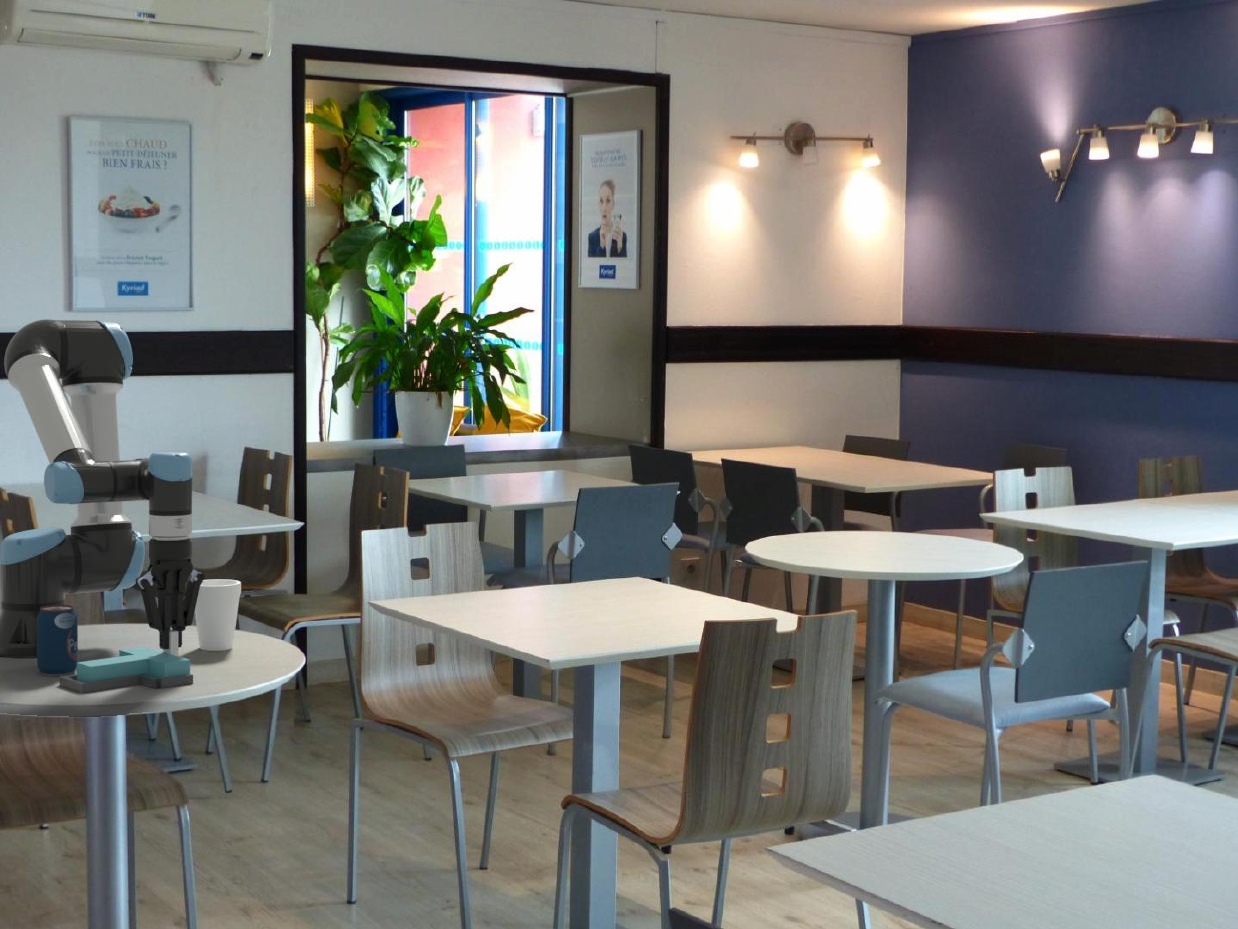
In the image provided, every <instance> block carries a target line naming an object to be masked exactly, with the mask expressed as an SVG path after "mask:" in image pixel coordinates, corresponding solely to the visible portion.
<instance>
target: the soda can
mask: <svg viewBox="0 0 1238 929" xmlns="http://www.w3.org/2000/svg"><path fill="white" fill-rule="evenodd" d="M40 610H41V611H40V613H39V615H38V617H37V657H36V658H37V659H36V663H37V664H36V667H37V670H38V671H39V672H40V674H41V675H43V676H49V677H60V676H67V675H73V674H74V673H75V671H76V670H77V662H79V647H78V646H79V640H78V638H79V636H78V635H79V634H78V632H79V630H78V629H79V628H78V625H79V624H78V614H77V612H76V611H75V606H73V605H71V604H65V605H49V606H44V607H41V608H40Z"/></svg>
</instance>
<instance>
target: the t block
mask: <svg viewBox="0 0 1238 929" xmlns="http://www.w3.org/2000/svg"><path fill="white" fill-rule="evenodd" d="M76 674H77V680H79V681H82V682H91V681H98V680H105V679H111V678H118V677H125V676H131V675H138V674H145V675H149V676H152V677H155V678H158V679H160V678H167V677H174V676H180V675H187V674H191V659H189V658H185V657H182V656H179V655H178V656H175V655H172V654H168V653H165V652H163V651H161V650H157V649H154V648H150V647H146V646H139V647H132V648H124V649H119V650H118V656H113V657H108V658H107V657H106V658H100V659H99V658H98V659H93V660H86V661H78V662H77V668H76Z"/></svg>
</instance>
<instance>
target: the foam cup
mask: <svg viewBox="0 0 1238 929" xmlns="http://www.w3.org/2000/svg"><path fill="white" fill-rule="evenodd" d="M241 594H242V582H241V581H240V580H235V579H218V578H217V579H215V578H214V579H204V580H203V582H202V583H201V585H200V589H199V593H198V598H197V603H196V607H195V612H194V616H195V617H194V618H195V623H196V631H197V632H196V633H197V639H198V645H199V649H200V650H202V651H209V652H214V651H215V652H216V651H217V652H218V651H220V652H221V651H226V650H231V649H233V646H234V641H235V632H236V625H237V619H238V611H239V610H238V609H239V603H240V596H241Z"/></svg>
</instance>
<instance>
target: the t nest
mask: <svg viewBox="0 0 1238 929" xmlns="http://www.w3.org/2000/svg"><path fill="white" fill-rule="evenodd" d="M58 677H59V678H58V679H59V681H58V683H59V686H60V687H64V688H67V689H70V690H73V691H74V692H79V693H81V694H84V693H90V692H91V693H92V692H96V691H104V690H109V689H115V688H116V689H117V688H122V687H123V688H124V687H128V686H135V685H143V686H147V687H150V688H151V689H152V688H153V689H156V690H157V689H158V690H159V689H165V688H171V687H177V686H183V685H184V686H185V685H189V684H190V685H191V684H194V674H192V673H190V674H187V675H180V676H174V677H167V678H160V679H158V678H155V677H152V676H149V675H145V674H138V675H131V676H125V677H118V678H111V679H105V680H98V681H91V682H82V681H79V680H77V673H76V674H74V673H73V674H69V675H62V676H58Z"/></svg>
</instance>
